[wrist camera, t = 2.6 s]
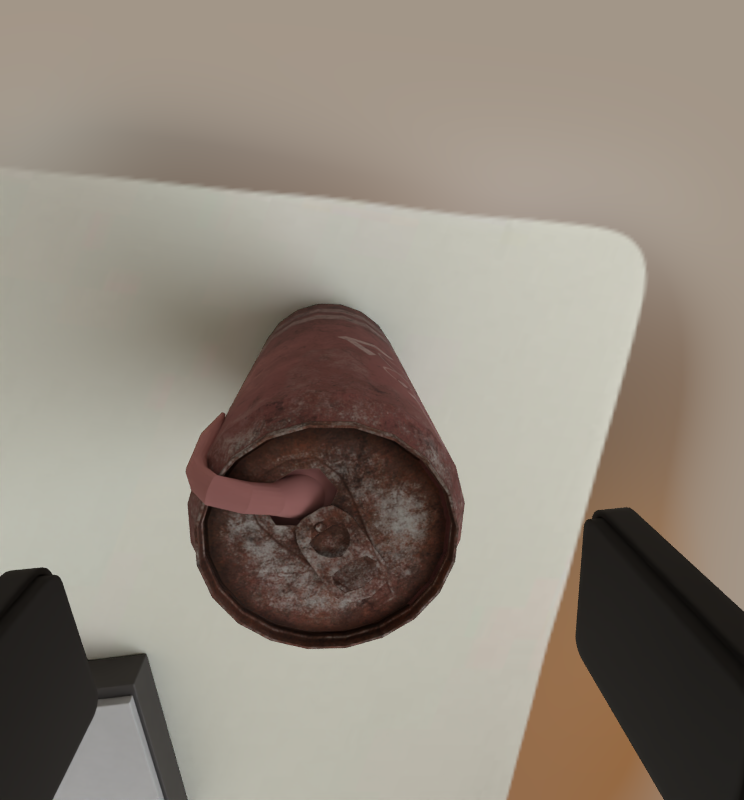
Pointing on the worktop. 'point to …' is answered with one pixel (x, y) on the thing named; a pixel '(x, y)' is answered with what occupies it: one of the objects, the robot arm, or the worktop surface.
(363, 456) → the can
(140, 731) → the scale
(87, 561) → the worktop surface
